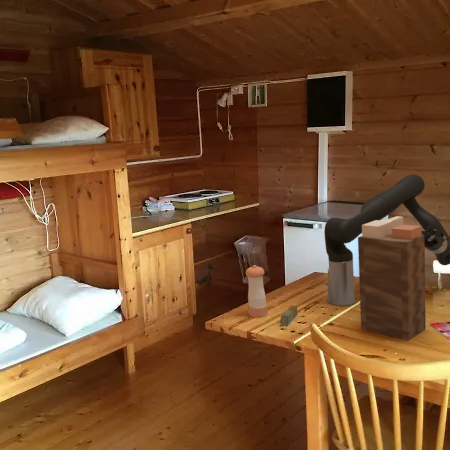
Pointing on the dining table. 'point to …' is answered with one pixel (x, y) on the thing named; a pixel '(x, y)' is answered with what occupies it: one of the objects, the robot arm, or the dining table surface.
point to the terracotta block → (406, 232)
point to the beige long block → (380, 227)
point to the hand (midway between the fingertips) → (416, 228)
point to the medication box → (288, 315)
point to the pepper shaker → (256, 292)
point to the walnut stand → (392, 285)
